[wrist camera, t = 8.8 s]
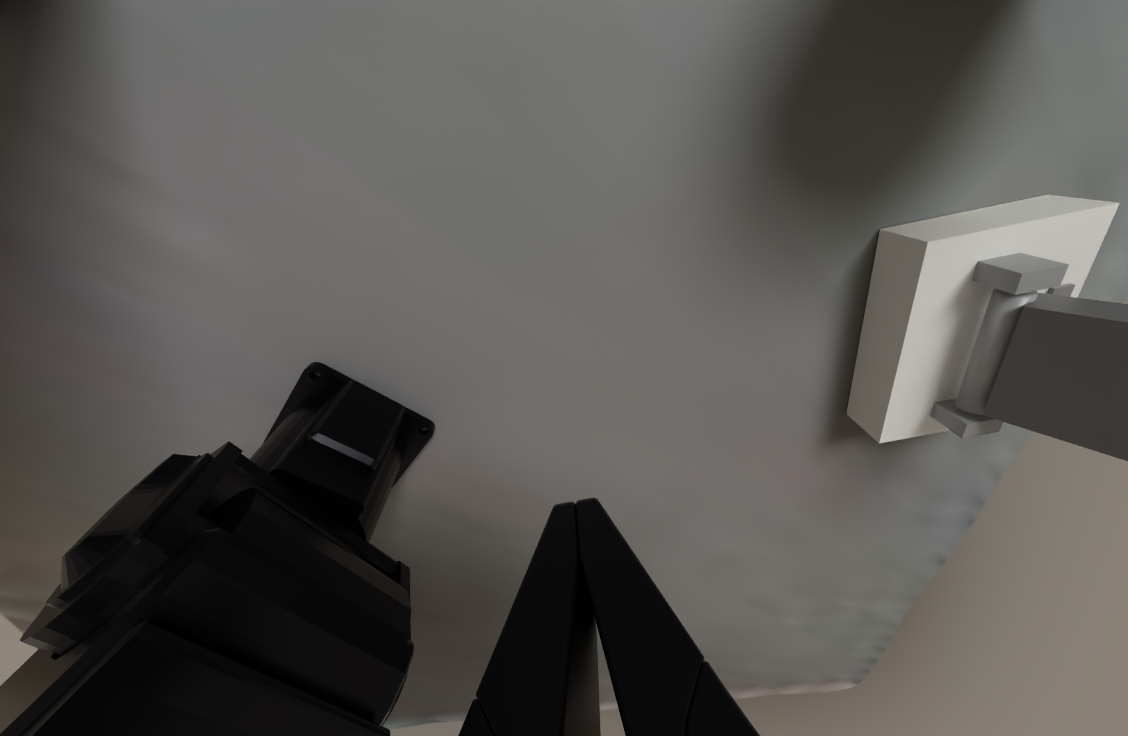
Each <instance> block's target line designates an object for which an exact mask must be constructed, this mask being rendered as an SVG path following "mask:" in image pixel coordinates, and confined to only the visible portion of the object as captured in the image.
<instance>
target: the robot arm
mask: <svg viewBox="0 0 1128 736" xmlns="http://www.w3.org/2000/svg"><path fill="white" fill-rule="evenodd" d="M313 371H316V372H318V373H319V374H320V375H321V376H317V375H316V374H314V372H313ZM421 427H424V428H426V429H428V430H422V429H421ZM434 430H435V425H434V423H433V422H432V421H431V420H429V419H427V418H425V417H423V416H421V415H419V414H418V413H416V412H414V411H412V410H410V409H408V408H406V407H404V406H402V405H401V404H399V403H397V402H395V401H393V400H391V399H389V398H387V397H386V396H384V395H382V394H380V393H378V392H376V391H374V390H372V389H370V388H368V387H367V386H365V385H363V384H361V383H359V382H357V381H355V380H353V379H351V378H349V377H347V376H345V375H343V374H342V373H340V372H338V371H336V370H334V369H332V368H330V367H328V366H326V365H324V364H322V363H319V362H314V363H311V364H310V365H309V366H308V367H307V368H306V369H305V370H304V371H303V373H302V375H301V376H300V378H299V380H298V382H297V384H296V385H295V387H294V389H293V391H292V393H291V394H290V396H289V398H288V400H287V401H286V403H285V405H284V407H283V409H282V410H281V412H280V414H279V416H278V418H277V419H276V421H275V423H274V425H273V426H272V428H271V430H270V432H269V434H268V435H267V437H266V439H265V441H264V443H263V444H262V446H261V447H260V448H259V449H258V450H257V451H256V452H255V454H254V455H253V456H252V457H251V458H250V459H248V458H247V457H245V456H244V455H242V454H241V453H242V450H241V449H239V448H238V447H236V446H235V445H234V444H232V443H231V442H227V443H226V444H224V445H223V446H221V447H220V448H219V449H217V450H216V451H214V452H213V453H212V454H209V453H206V454H204V455H203V456H201V455H198V456H188V455H178V454H173V455H171V456H170V457H169V458H167V459H166V460H165V461H163V462H162V463H161V464H160V465H159V466H157V467H156V468H155V469H154V470H153V471H152V472H151V473H149V474H148V475H147V476H146V477H145V478H144V479H143V480H141V481H140V482H139V483H138V484H137V485H136V486H135V487H133V488H132V489H131V490H130V491H129V492H128V493H127V494H125V495H124V496H123V497H122V498H121V499H120V500H119V501H118V502H117V503H116V504H115V505H113V506H112V507H111V508H110V509H109V510H108V511H107V512H106V513H105V514H104V515H103V516H102V517H101V518H100V519H99V520H98V521H97V522H96V523H95V524H94V525H93V526H92V527H91V528H90V529H89V530H88V531H87V532H86V533H85V534H84V535H83V536H82V537H81V538H80V539H79V540H78V541H77V543H76V544H75V545H74V546H73V547H72V548H71V549H70V550H69V551H68V552H67V553H66V554H65V555H64V556H63V557H62V571H61V583H60V585H59V586H58V587H57V588H56V590H55V591H54V592H53V594H52V595H51V596H50V598H49V599H48V600H47V602H46V604H45V605H46V606H45V607H44V608H43V610H42V611H41V612H40V614H39V615H38V616H37V617H36V619H35V620H34V621H33V623H32V624H31V625H30V626H29V628H28V629H27V630H26V632H25V633H24V634H23V636H22V637H21V639H20V641H21V642H24V643H26V644H29V645H32V646H34V647H37V648H39V649H38V650H37V651H36V652H35V653H34V654H33V655H32V656H31V657H30V658H29V659H28V660H27V661H26V662H25V663H24V664H23V665H22V666H21V667H20V668H19V669H18V670H17V671H16V672H15V673H13V674H12V676H10V677H9V678H8V679H7V680H6V681H5V682H4V683H3V684H2V685H1V686H0V736H390V730H389V729H387V728H385V727H383V724H384V722H385V721H386V719H387V718H388V716H389V715H390V713H391V712H392V710H393V708H394V706H395V704H396V702H397V700H398V698H399V696H400V693H401V691H402V688H403V685H404V683H405V680H406V677H407V673H408V669H409V666H410V663H411V660H412V657H413V650H414V645H413V642H411V628H410V618H411V606H410V569H409V567H408V566H406V565H405V564H403V563H402V562H400V561H398V562H396V561H395V560H393V559H392V558H390V557H389V556H387V555H386V554H384V553H383V552H382V551H380V550H379V549H377V548H376V547H374V546H373V545H372V544H370V543H369V541H370V539H371V536H372V534H373V532H374V529H375V527H376V524H377V522H378V519H379V517H380V515H381V512H382V510H383V507H384V505H385V502H386V500H387V497H388V495H389V493H390V490H391V488H392V487H393V486H394V484H395V483H396V482H397V480H398V479H399V478H400V477H401V475H402V474H403V473H404V471H405V470H406V469H407V468H408V466H409V465H410V464H411V462H412V461H413V460H414V459H415V457H416V456H417V455H418V453H419V452H420V451H421V450H422V448H423V447H424V446H425V444H426V443H427V442H428V441H429V439H430V438H431V437H432V435H433V433H434ZM596 623H597V627H598V631H599V635H600V639H601V643H602V647H603V650H604V654H605V658H606V662H607V666H608V670H609V673H610V677H611V681H612V685H613V689H614V693H615V697H616V700H617V704H618V708H619V712H620V716H621V720H622V723H623V727H624V731H625V735H626V736H760V735H759V734H758V732H757V731H756V730H755V728H754V727H753V726H752V725H751V723H750V722H749V720H748V719H747V717H746V716H745V715H744V713H743V712H742V710H741V709H740V708H739V706H738V705H737V703H736V702H735V701H734V699H733V698H732V696H731V695H730V694H729V692H728V691H727V689H726V688H725V687H724V685H723V684H722V682H721V681H720V679H719V678H718V676H717V675H716V673H715V672H714V670H713V669H712V667H711V666H710V664H709V663H708V662H706V661H705V662H704V656H703V654H702V653H701V652H700V650H699V649H698V647H697V646H696V644H695V643H694V641H693V640H692V638H691V637H690V635H689V634H688V632H687V631H686V629H685V628H684V626H683V625H682V623H681V622H680V620H679V619H678V618H677V616H676V615H675V613H674V612H673V610H672V609H671V607H670V606H669V604H668V603H667V601H666V600H665V598H664V597H663V595H662V594H661V592H660V591H659V589H658V588H657V586H656V585H655V583H654V582H653V581H652V579H651V578H650V576H649V575H648V573H647V572H646V570H645V569H644V567H643V566H642V564H641V563H640V561H639V560H638V558H637V557H636V555H635V554H634V552H633V551H632V549H631V548H630V546H629V545H628V544H627V542H626V541H625V539H624V538H623V536H622V535H621V533H620V532H619V530H618V529H617V527H616V526H615V524H614V523H613V521H612V520H611V518H610V517H609V515H608V514H607V512H606V511H605V509H604V508H603V507H602V505H601V504H600V502H599V501H598V499H596V498H588V499H583V500H578V501H577V502H576V504H575V503H574V502H566V503H561V504H556V505H555V506H554V507H553V509H552V511H551V513H550V516H549V518H548V521H547V523H546V526H545V528H544V530H543V533H542V535H541V538H540V540H539V542H538V545H537V547H536V550H535V552H534V555H533V557H532V559H531V562H530V564H529V567H528V569H527V572H526V574H525V576H524V579H523V581H522V584H521V586H520V588H519V591H518V593H517V596H516V598H515V601H514V603H513V605H512V608H511V610H510V613H509V615H508V618H507V620H506V622H505V625H504V627H503V630H502V632H501V634H500V637H499V639H498V642H497V644H496V647H495V649H494V651H493V654H492V656H491V659H490V661H489V664H488V666H487V668H486V671H485V673H484V676H483V678H482V680H481V683H480V685H479V688H478V690H477V693H476V697H477V699H478V700H477V699H474V700H473V702H472V704H471V707H470V709H469V711H468V714H467V716H466V719H465V721H464V724H463V726H462V728H461V731H460V734H459V735H458V736H601V734H600V708H599V681H598V654H597V631H596Z"/></svg>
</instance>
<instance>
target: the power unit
mask: <svg viewBox="0 0 1128 736" xmlns="http://www.w3.org/2000/svg"><path fill="white" fill-rule="evenodd" d="M1118 206H1119V203H1115V202H1107V201H1098V200H1089V199H1080V198H1072V197H1063V196H1054V195H1043V196H1038V197H1034V198H1029V199H1024V200H1019V201H1014V202H1009V203H1004V204H1000V205H995V206H990V207H985V208H980V209H975V210H970V211H966V212H961V213H956V214H951V215H946V216H941V217H936V218H932V219H927V220H922V221H917V222H912V223H907V224H902V225H898V226H893V227H888V228H883V229H880V232H879V237H878V243H877V248H876V254H875V259H874V265H873V270H872V276H871V281H870V287H869V292H868V297H867V303H866V308H865V314H864V319H863V325H862V330H861V336H860V341H859V347H858V352H857V358H856V363H855V369H854V374H853V380H852V385H851V391H850V396H849V402H848V407H847V413H846V414H847V415H848V416H849V417H850V418H851V419H852V420H853V421H855V422H856V423H857V424H858V425H859V426H860V427H861V428H862V429H864V430H865V431H866V432H867V433H868V434H869V435H870V436H871V437H873V438H874V439H875V440H876V441H877V442H878V443H885V442H890V441H896V440H901V439H906V438H912V437H917V436H923V435H928V434H934V433H939V432H944V431H950V430H951V431H952V432H954V433H955V434H956V435H958V436H959V437H961V438H967V437H973V436H978V435H984V434H989V433H994V432H999V430H1000V428H1001V425H1002V423H1003V421H1000V420H997V419H994V418H990V417H987V416H984V415H982V414H972V413H968V412H965V411H963V410H961V409H959V408H958V407H957V406H956V405H955V401H956V398H957V395H958V392H959V389H960V386H961V384H962V381H963V378H964V375H965V372H966V369H967V366H968V363H969V360H970V357H971V354H972V351H973V348H974V345H975V342H976V339H977V336H978V333H979V330H980V327H981V324H982V321H983V318H984V315H985V313H986V310H987V307H988V304H989V301H990V298H991V295H992V292H993V290H994V289H998V290H1001V291H1004V292H1007V293H1011V294H1014V295H1017V294H1022V293H1027V292H1032V291H1037V292H1038V293H1045V294H1053V295H1060V296H1068V297H1075V298H1077V297H1078V295H1079V293H1080V291H1081V288H1082V286H1083V284H1084V282H1085V279H1086V277H1087V275H1088V273H1089V270H1090V268H1091V266H1092V264H1093V262H1094V259H1095V257H1096V255H1097V253H1098V250H1099V248H1100V246H1101V244H1102V241H1103V239H1104V237H1105V235H1106V232H1107V230H1108V228H1109V226H1110V224H1111V221H1112V219H1113V217H1114V215H1115V212H1116V210H1117V208H1118Z"/></svg>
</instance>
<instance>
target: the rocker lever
mask: <svg viewBox="0 0 1128 736" xmlns="http://www.w3.org/2000/svg"><path fill="white" fill-rule="evenodd" d="M955 405H956V406H957V407H958V408H959V409H961V410H963V411H965V412H968V413H972V414H982V415H984V416H987V417H990V418H994V419H997V420H1000V421H1003V422H1006V423H1009V424H1012V425H1016V426H1019V427H1022V428H1025V429H1028V430H1031V431H1034V432H1038V433H1041V434H1044V435H1047V436H1050V437H1053V438H1057V439H1060V440H1063V441H1066V442H1069V443H1072V444H1076V445H1079V446H1082V447H1085V448H1088V449H1091V450H1094V451H1098V452H1101V453H1104V454H1107V455H1110V456H1113V457H1116V458H1119V459H1123V460H1126V461H1128V304H1121V303H1113V302H1106V301H1098V300H1091V299H1083V298H1075V297H1068V296H1060V295H1053V294H1045V293H1038V292H1037V291H1032V292H1027V293H1022V294H1017V295H1014V294H1011V293H1007V292H1004V291H1001V290H998V289H994V290H993V292H992V295H991V298H990V301H989V304H988V307H987V310H986V313H985V315H984V318H983V321H982V324H981V327H980V330H979V333H978V336H977V339H976V342H975V345H974V348H973V351H972V354H971V357H970V360H969V363H968V366H967V369H966V372H965V375H964V378H963V381H962V384H961V386H960V389H959V392H958V395H957V398H956V401H955Z"/></svg>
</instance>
